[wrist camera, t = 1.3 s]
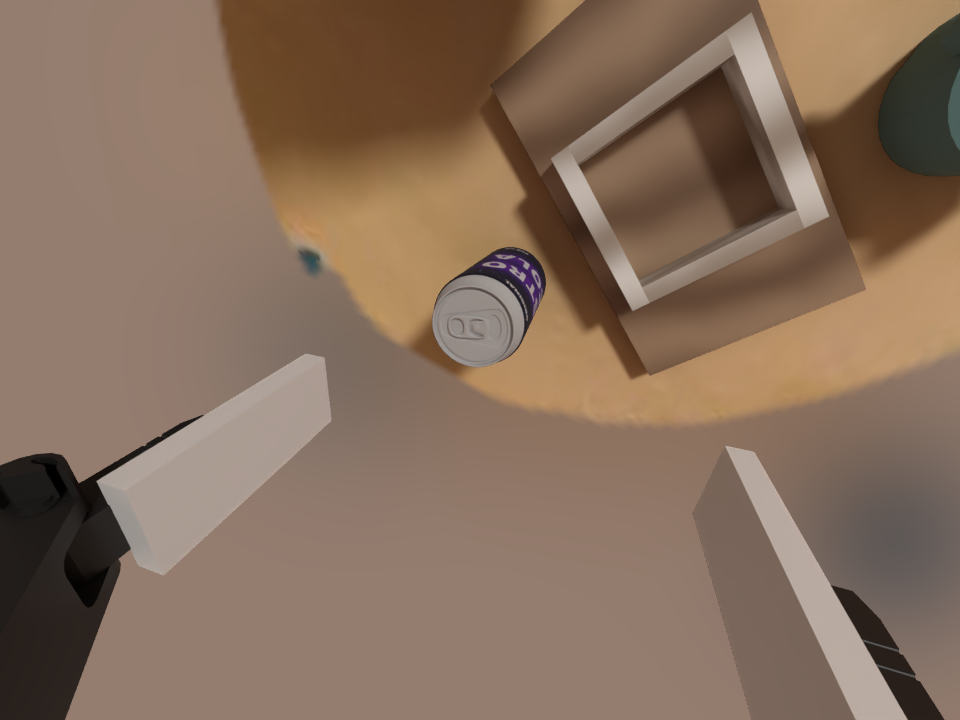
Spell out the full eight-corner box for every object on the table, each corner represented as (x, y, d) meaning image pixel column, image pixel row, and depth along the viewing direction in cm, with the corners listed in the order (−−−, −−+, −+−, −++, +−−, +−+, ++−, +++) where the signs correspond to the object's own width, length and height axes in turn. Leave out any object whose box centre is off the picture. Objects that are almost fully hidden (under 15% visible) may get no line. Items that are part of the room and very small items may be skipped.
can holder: (495, 90, 27) (480, 76, 23) (706, -97, 21) (729, -153, 17) (647, 367, 32) (653, 390, 28) (852, 284, 26) (892, 299, 22)
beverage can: (545, 314, 32) (521, 377, 22) (481, 311, 34) (429, 369, 23) (548, 245, 30) (523, 279, 20) (479, 245, 32) (420, 276, 21)
